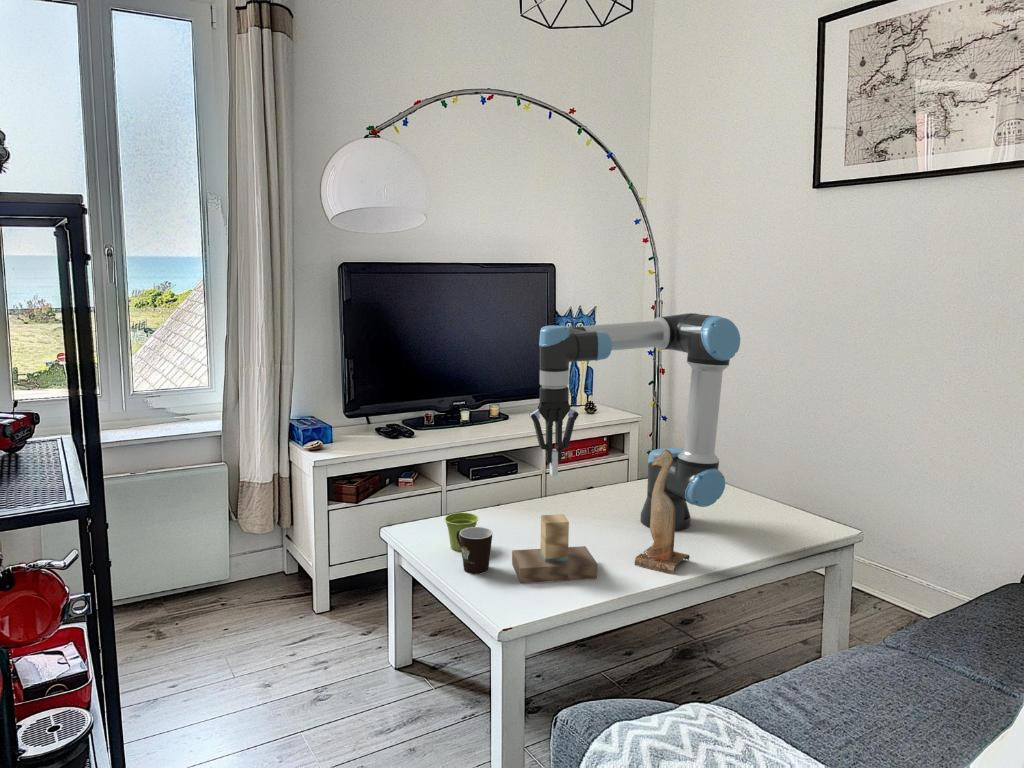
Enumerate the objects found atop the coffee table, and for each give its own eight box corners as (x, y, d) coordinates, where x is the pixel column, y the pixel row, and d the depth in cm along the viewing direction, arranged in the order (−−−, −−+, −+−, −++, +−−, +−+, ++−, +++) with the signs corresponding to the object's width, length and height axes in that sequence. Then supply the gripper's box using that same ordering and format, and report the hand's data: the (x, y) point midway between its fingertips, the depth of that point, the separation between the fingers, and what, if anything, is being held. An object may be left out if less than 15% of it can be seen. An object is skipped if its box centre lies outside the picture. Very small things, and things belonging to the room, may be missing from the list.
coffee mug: (496, 573, 203) (496, 537, 201) (463, 577, 200) (463, 540, 199) (485, 556, 214) (485, 521, 212) (453, 560, 211) (453, 524, 210)
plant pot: (474, 555, 215) (474, 524, 213) (440, 552, 217) (440, 522, 215) (481, 542, 224) (481, 513, 222) (449, 540, 226) (449, 511, 224)
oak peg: (562, 564, 208) (563, 514, 205) (568, 574, 202) (569, 522, 200) (540, 565, 207) (540, 515, 204) (544, 575, 201) (545, 523, 199)
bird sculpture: (649, 553, 218) (649, 441, 213) (690, 560, 212) (691, 445, 207) (634, 567, 209) (634, 450, 203) (676, 575, 203) (677, 455, 197)
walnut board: (585, 560, 212) (585, 546, 211) (597, 578, 200) (597, 563, 200) (512, 564, 209) (512, 550, 208) (520, 583, 197) (520, 568, 196)
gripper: (574, 382, 207) (573, 468, 211) (526, 384, 204) (526, 471, 209) (582, 387, 200) (581, 476, 204) (532, 389, 197) (532, 480, 201)
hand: (553, 474), depth 206 cm, fingers closed
